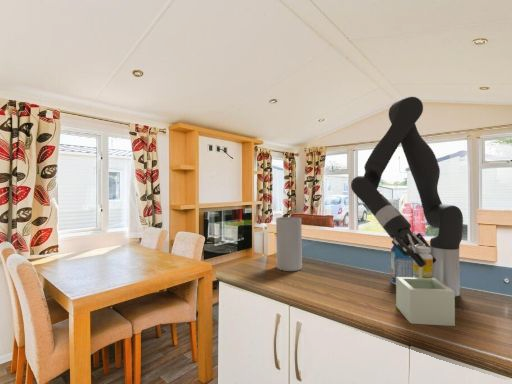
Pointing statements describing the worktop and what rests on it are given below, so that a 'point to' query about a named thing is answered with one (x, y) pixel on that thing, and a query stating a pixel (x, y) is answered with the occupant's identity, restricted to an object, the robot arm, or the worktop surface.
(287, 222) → the cylinder vase
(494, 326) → the worktop surface
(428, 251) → the supplement bottle
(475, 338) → the worktop surface
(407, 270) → the beverage bottle
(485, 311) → the worktop surface
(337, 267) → the worktop surface
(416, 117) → the robot arm
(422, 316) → the open box
